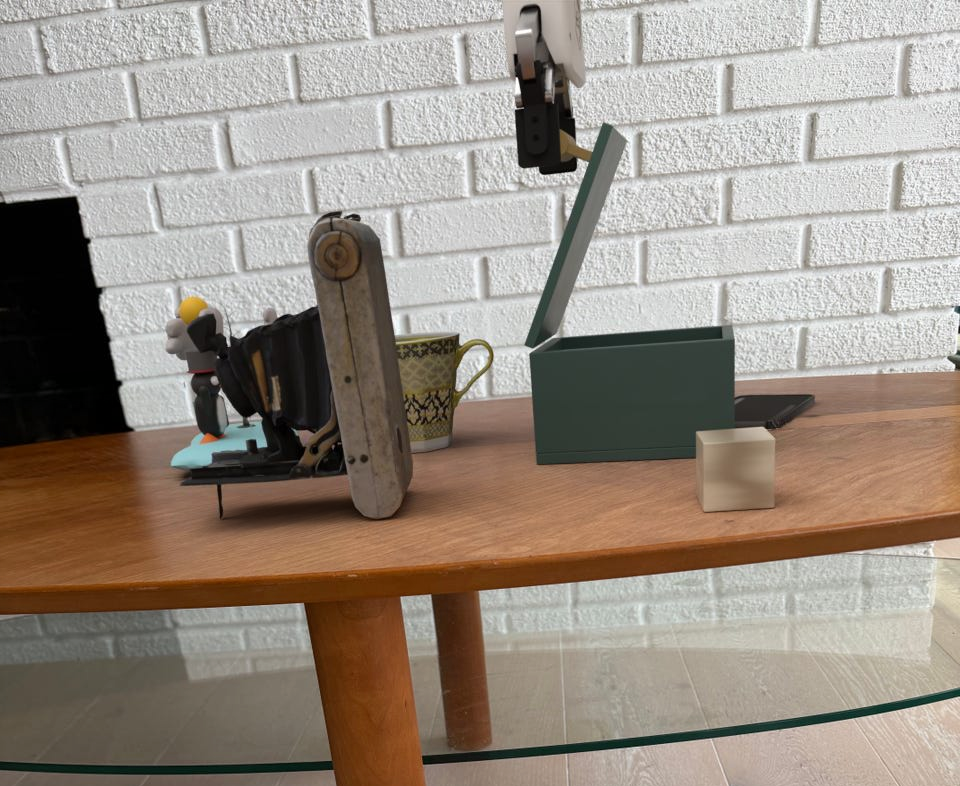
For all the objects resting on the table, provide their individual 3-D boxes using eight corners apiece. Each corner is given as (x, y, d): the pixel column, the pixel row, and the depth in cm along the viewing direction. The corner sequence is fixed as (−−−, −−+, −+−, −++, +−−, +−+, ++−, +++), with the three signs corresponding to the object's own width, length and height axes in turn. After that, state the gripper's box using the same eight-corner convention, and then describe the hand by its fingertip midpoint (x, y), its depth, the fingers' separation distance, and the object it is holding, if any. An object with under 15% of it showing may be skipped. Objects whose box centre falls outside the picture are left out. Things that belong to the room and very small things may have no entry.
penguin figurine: (276, 475, 88) (247, 293, 83) (155, 486, 88) (118, 305, 83) (309, 437, 107) (287, 286, 102) (209, 445, 107) (182, 296, 102)
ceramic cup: (353, 460, 92) (338, 347, 88) (377, 440, 101) (364, 337, 97) (494, 451, 90) (485, 335, 86) (505, 432, 99) (497, 326, 96)
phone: (691, 421, 92) (739, 394, 103) (691, 433, 92) (739, 405, 104) (779, 421, 88) (818, 393, 100) (778, 434, 88) (818, 405, 100)
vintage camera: (226, 509, 79) (165, 239, 72) (419, 486, 78) (378, 210, 71) (190, 544, 70) (116, 241, 63) (407, 519, 69) (358, 207, 62)
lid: (627, 140, 84) (569, 118, 84) (613, 125, 72) (546, 100, 73) (556, 334, 91) (503, 313, 91) (533, 349, 79) (472, 325, 80)
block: (763, 492, 68) (763, 426, 66) (774, 508, 63) (776, 438, 62) (696, 496, 68) (695, 431, 67) (703, 512, 64) (703, 443, 62)
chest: (732, 427, 91) (732, 324, 88) (734, 456, 79) (734, 338, 76) (558, 436, 94) (552, 337, 91) (536, 464, 83) (528, 353, 80)
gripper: (570, -133, 65) (583, 157, 72) (598, -62, 81) (607, 171, 87) (458, -112, 67) (480, 169, 73) (507, -47, 83) (522, 180, 89)
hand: (549, 170), depth 80 cm, fingers open, 9 cm apart
